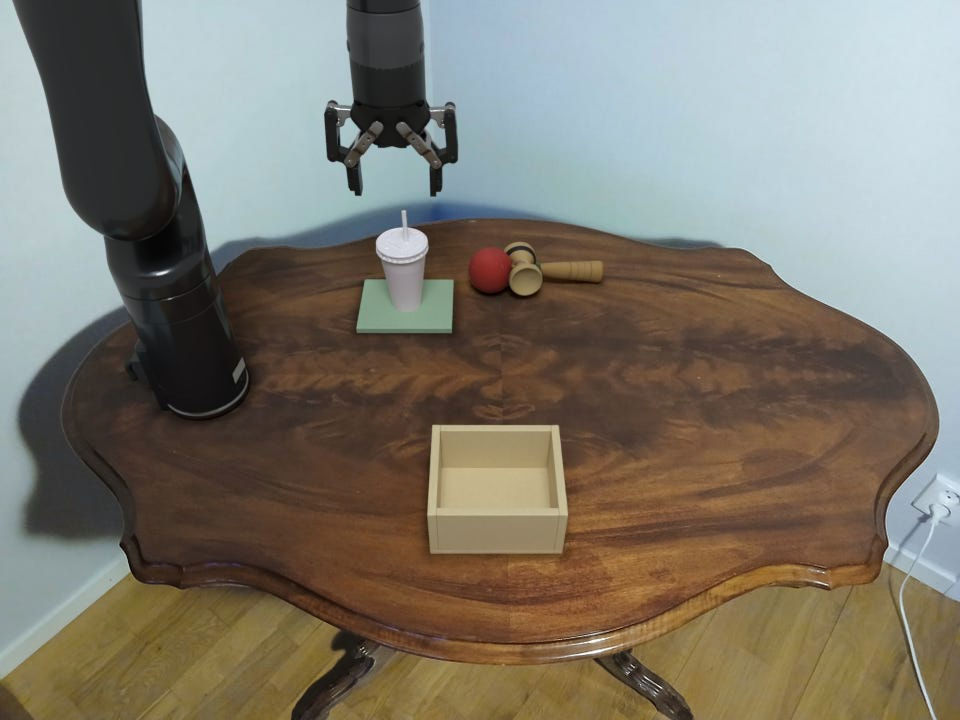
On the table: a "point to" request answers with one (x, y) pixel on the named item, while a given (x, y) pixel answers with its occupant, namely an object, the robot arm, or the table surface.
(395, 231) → the smoothie
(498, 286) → the kendama
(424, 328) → the mat
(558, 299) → the table surface
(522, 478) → the bin
